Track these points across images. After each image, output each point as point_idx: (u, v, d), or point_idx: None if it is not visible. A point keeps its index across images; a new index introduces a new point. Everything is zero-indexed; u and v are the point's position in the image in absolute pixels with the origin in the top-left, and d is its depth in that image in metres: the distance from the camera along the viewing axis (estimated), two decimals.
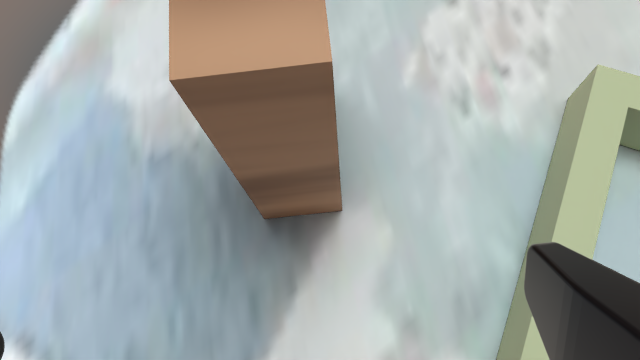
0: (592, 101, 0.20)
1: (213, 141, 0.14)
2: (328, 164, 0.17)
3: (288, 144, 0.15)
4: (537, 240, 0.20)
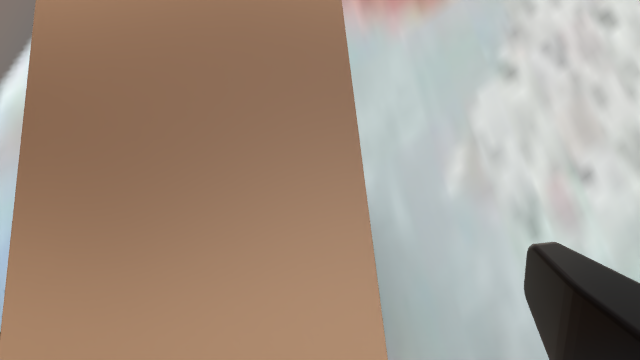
0: None
1: None
2: None
3: None
4: None
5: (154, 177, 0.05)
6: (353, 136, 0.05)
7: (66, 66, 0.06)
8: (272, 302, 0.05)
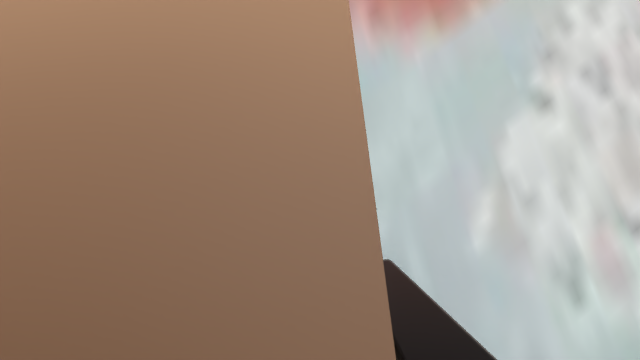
0: None
1: None
2: None
3: None
4: None
5: None
6: None
7: None
8: None
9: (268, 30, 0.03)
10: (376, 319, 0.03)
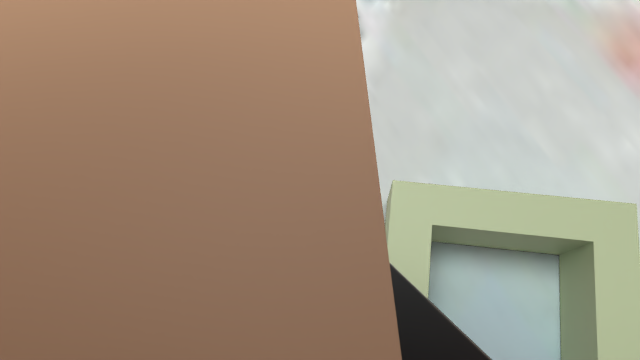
0: (393, 226, 0.18)
1: None
2: None
3: None
4: None
5: None
6: None
7: None
8: None
9: (278, 28, 0.03)
10: (381, 310, 0.03)
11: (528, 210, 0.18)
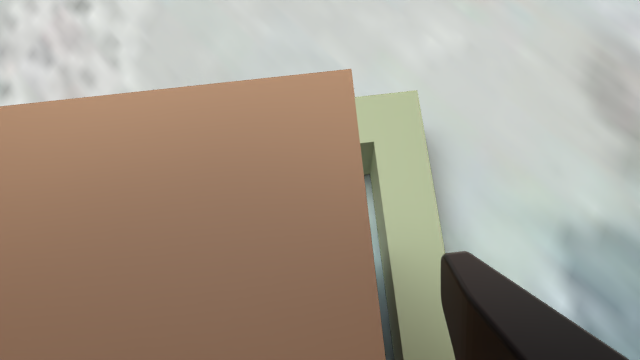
0: None
1: None
2: None
3: None
4: None
5: None
6: None
7: (24, 284, 0.04)
8: None
9: (306, 143, 0.05)
10: (374, 333, 0.04)
11: None
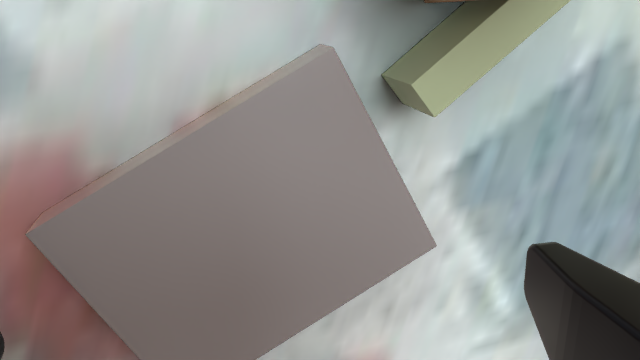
0: None
1: None
2: None
3: None
4: None
5: None
6: None
7: None
8: None
9: None
10: None
11: None
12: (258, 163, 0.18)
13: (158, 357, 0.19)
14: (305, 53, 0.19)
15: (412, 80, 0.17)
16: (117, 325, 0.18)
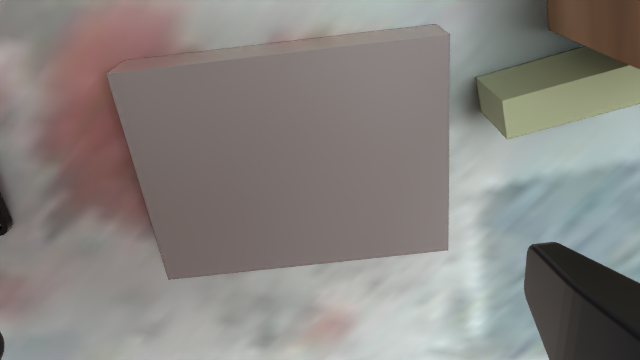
0: None
1: None
2: None
3: None
4: None
5: None
6: None
7: None
8: None
9: None
10: None
11: None
12: (332, 106, 0.18)
13: (167, 230, 0.21)
14: (419, 26, 0.19)
15: (504, 97, 0.18)
16: (146, 187, 0.20)
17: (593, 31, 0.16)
